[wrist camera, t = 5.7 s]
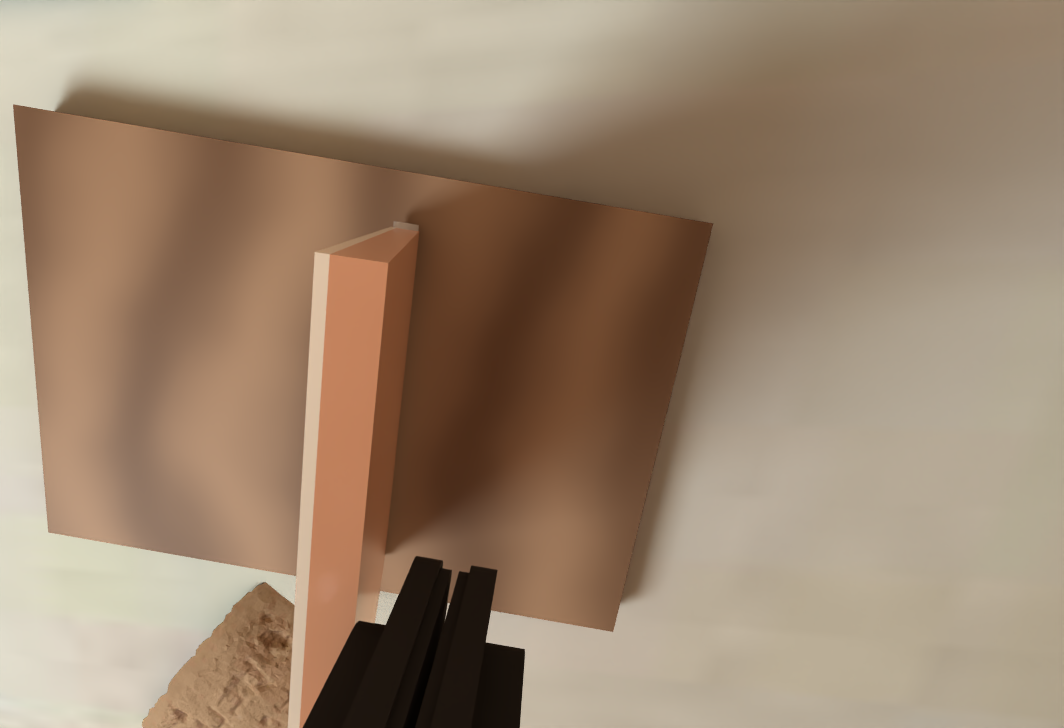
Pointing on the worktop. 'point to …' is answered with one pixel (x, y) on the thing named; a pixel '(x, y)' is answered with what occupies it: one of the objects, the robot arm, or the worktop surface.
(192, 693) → the clay tablet
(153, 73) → the worktop surface
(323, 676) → the ceramic tile
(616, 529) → the walnut board
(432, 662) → the robot arm
